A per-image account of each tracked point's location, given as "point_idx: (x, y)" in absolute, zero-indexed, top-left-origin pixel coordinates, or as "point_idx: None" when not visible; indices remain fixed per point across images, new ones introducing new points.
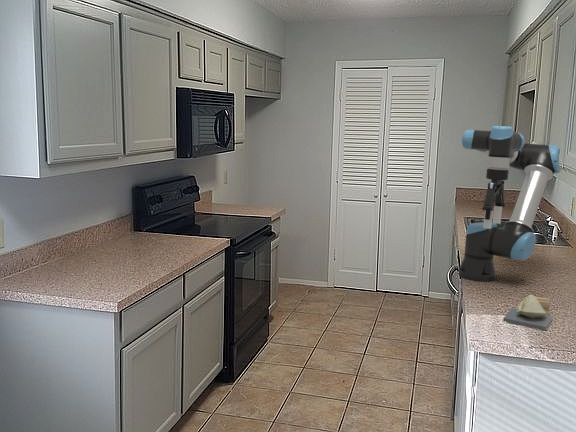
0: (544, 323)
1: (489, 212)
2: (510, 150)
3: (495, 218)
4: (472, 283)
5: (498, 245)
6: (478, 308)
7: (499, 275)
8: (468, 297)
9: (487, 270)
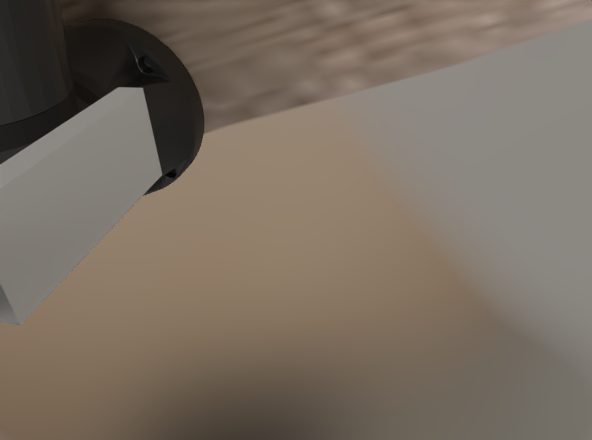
0: None
1: None
2: None
3: (123, 178)
4: (252, 91)
5: (49, 56)
6: None
7: None
8: (529, 36)
9: (124, 65)
